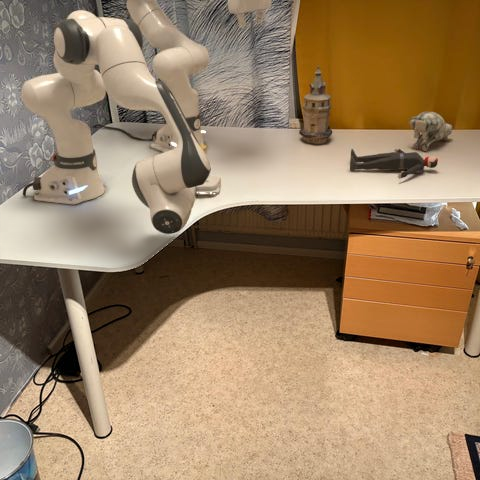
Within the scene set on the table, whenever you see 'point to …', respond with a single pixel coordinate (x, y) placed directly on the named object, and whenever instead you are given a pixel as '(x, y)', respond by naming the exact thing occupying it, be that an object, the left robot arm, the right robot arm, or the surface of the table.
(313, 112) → the miniature building
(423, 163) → the toy
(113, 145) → the table surface
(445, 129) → the figurine
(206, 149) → the lid
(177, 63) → the right robot arm
